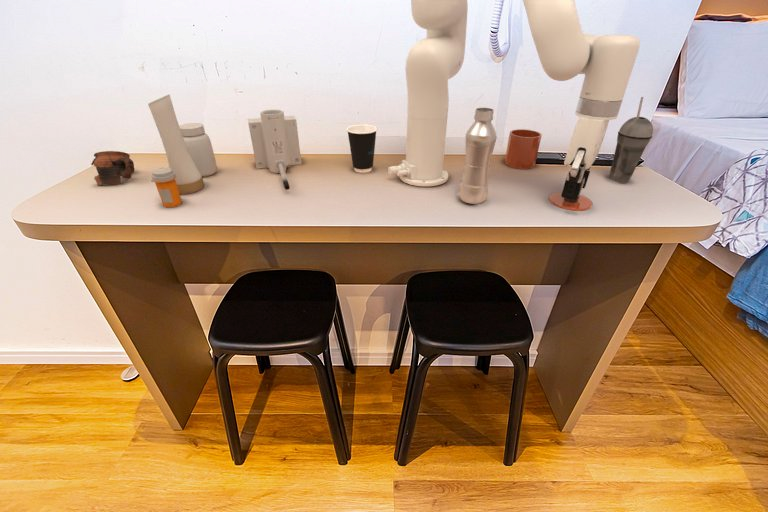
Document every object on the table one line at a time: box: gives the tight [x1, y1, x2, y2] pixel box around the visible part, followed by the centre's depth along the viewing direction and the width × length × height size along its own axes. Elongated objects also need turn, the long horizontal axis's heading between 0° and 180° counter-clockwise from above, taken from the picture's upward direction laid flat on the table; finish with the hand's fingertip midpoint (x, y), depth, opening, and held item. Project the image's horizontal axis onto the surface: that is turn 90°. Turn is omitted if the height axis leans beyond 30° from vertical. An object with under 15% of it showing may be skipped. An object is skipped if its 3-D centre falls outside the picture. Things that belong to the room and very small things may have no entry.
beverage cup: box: [608, 96, 654, 184], centre depth 93 cm, size 7×7×20 cm
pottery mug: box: [90, 150, 136, 186], centre depth 97 cm, size 12×10×8 cm
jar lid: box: [549, 175, 593, 212], centre depth 85 cm, size 9×9×7 cm
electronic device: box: [247, 109, 302, 191], centre depth 96 cm, size 12×26×15 cm, turn 18°
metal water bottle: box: [458, 107, 498, 205], centre depth 82 cm, size 6×7×20 cm
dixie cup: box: [345, 124, 378, 174], centre depth 102 cm, size 8×8×11 cm
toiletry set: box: [147, 94, 218, 208], centre depth 89 cm, size 25×8×20 cm, turn 2°
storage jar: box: [504, 128, 543, 170], centre depth 106 cm, size 8×8×8 cm
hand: (573, 191), depth 85 cm, fingers open, 6 cm apart
